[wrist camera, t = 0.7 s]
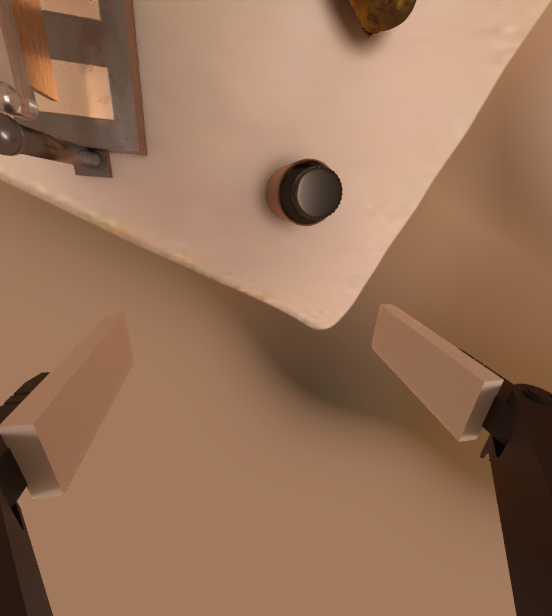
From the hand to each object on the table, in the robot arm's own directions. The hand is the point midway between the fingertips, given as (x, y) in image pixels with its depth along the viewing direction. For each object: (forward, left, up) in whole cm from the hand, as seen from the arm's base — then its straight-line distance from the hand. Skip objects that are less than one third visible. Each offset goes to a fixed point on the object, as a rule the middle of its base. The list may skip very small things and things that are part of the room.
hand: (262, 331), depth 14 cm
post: (-9, -17, -26) cm, 33 cm away
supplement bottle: (-7, +7, -27) cm, 28 cm away
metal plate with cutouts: (-19, -17, -26) cm, 37 cm away
